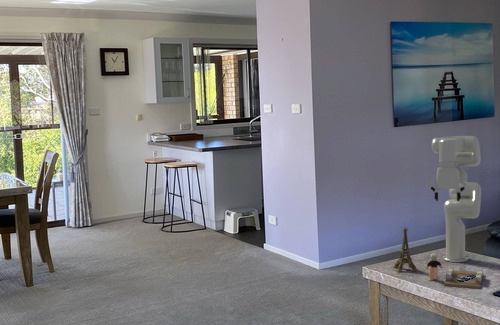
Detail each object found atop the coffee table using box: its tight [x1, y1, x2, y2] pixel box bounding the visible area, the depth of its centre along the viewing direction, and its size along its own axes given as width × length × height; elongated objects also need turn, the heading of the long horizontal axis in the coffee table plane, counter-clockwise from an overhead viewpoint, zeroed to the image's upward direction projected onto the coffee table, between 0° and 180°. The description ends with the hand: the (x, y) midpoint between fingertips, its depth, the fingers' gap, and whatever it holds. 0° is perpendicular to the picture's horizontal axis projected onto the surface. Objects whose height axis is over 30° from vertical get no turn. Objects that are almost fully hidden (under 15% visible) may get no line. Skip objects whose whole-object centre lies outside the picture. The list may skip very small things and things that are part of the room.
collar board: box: [443, 267, 484, 290], centre depth 295 cm, size 22×15×4 cm
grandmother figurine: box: [425, 252, 443, 282], centre depth 297 cm, size 8×4×13 cm, turn 105°
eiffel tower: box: [391, 227, 420, 273], centre depth 316 cm, size 11×11×25 cm
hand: (447, 200), depth 304 cm, fingers open, 9 cm apart
